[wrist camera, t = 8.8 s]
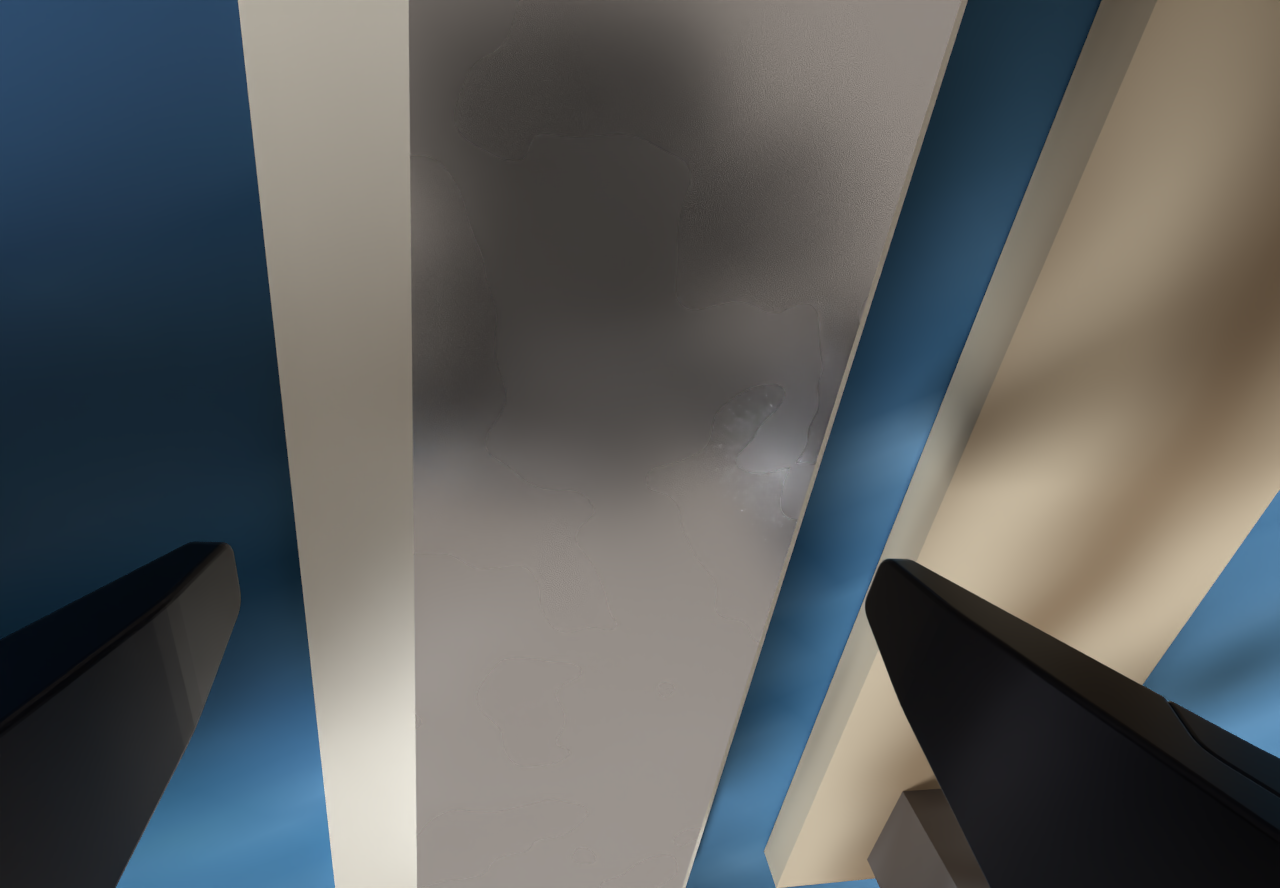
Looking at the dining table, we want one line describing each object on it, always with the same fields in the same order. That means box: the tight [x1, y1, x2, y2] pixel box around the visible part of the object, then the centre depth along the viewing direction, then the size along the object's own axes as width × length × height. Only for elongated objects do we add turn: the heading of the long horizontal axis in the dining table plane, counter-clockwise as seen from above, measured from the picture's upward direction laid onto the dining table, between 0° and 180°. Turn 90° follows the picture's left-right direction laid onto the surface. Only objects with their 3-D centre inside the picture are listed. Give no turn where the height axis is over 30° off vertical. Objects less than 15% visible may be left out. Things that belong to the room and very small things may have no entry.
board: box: [238, 0, 968, 888], centre depth 11 cm, size 9×26×1 cm, turn 171°
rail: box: [409, 0, 961, 888], centre depth 9 cm, size 4×23×4 cm, turn 171°
